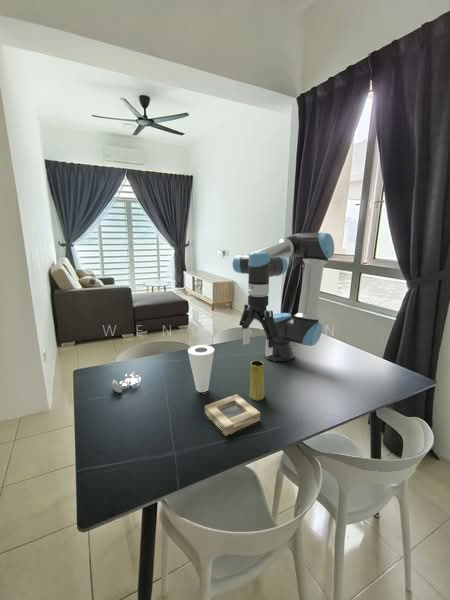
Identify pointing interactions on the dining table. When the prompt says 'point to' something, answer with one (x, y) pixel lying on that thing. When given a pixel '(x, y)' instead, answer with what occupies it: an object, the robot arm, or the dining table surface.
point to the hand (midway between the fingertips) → (257, 349)
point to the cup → (201, 365)
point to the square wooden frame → (232, 414)
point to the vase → (256, 380)
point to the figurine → (127, 381)
